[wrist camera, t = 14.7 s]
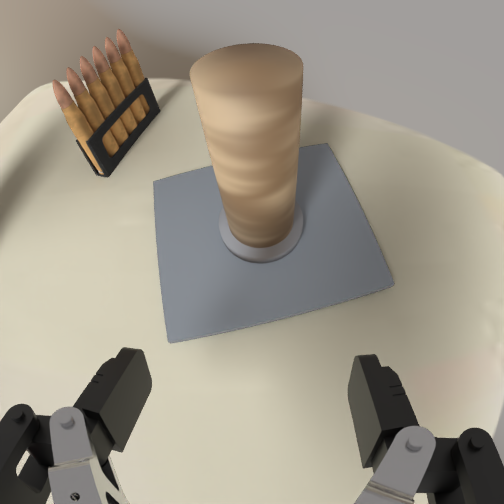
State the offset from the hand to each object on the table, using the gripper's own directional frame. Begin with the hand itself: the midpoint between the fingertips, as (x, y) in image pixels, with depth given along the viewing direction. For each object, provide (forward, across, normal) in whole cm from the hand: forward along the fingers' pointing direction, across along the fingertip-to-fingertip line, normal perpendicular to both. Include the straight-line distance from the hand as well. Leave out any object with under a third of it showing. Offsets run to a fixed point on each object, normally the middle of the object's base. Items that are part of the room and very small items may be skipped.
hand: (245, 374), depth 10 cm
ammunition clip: (+22, +14, -10) cm, 28 cm away
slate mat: (+14, 0, -2) cm, 14 cm away
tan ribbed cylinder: (+13, 0, -2) cm, 13 cm away
